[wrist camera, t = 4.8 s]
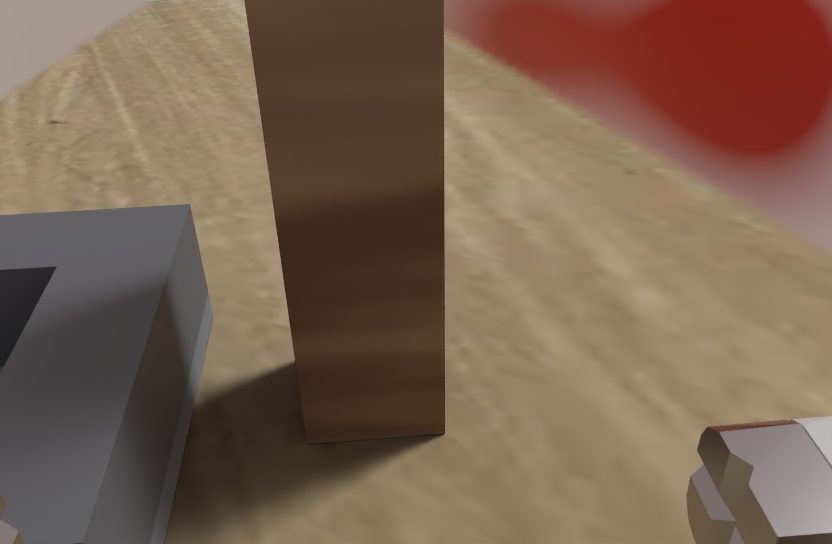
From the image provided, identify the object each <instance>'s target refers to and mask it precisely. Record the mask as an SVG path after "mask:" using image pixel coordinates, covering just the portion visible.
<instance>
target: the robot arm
mask: <svg viewBox="0 0 832 544" xmlns="http://www.w3.org/2000/svg"><path fill="white" fill-rule="evenodd" d="M697 451H698V453H699V455H700V457H701V459H702V461H703V463H704V465H702V466H701V467H700V468H699V469H698V470H697V471H696V472H695V473H693V474H692V475H691V476H690V481H689V486H688V491H687V509H688V519H689V523H690V527H691V530H692V534H693V537H694V539H695V542H696V544H832V416H827V417H815V418H804V419H792V420H790V421H788V420H777V421H766V422H755V423H743V424H732V425H721V426H709V427H707V428H706V429H705V431H704V432H703V433H702V434H701V437H700V441H699V444H698V448H697ZM5 506H6V503H5V501H4V499H3V497H2V495H1V493H0V518H1V516H2V513H3V511H4V508H5ZM0 544H24V542H23V540H22V538H21V535H20V533H19V531H18V530H17V529H15V528H14V527H12V526H10V525H9V524H7V523H5V522H4V521H2V520H0Z"/></svg>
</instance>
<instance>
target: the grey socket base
mask: <svg viewBox="0 0 832 544" xmlns="http://www.w3.org/2000/svg"><path fill="white" fill-rule="evenodd" d="M212 319H213V313H212V308H211V304H210V299H209V294H208V289H207V284H206V279H205V275H204V270H203V265H202V260H201V255H200V250H199V246H198V241H197V236H196V231H195V226H194V221H193V217H192V212H191V207H190V204H186V205H169V206H152V207H135V208H119V209H102V210H85V211H68V212H51V213H34V214H17V215H0V493H1V495H2V497H3V499H4V501H5V503H6V506H5V508H4V511H3V513H2V516H1V518H0V520H2V521H4V522H5V523H7V524H9V525H10V526H12V527H14V528H15V529H17V530H18V531H19V533H20V535H21V538H22V540H23V542H24V544H164V542H165V537H166V532H167V528H168V523H169V519H170V514H171V509H172V505H173V500H174V495H175V491H176V486H177V481H178V477H179V472H180V467H181V463H182V458H183V454H184V449H185V444H186V440H187V435H188V430H189V426H190V421H191V416H192V412H193V407H194V402H195V398H196V393H197V388H198V384H199V379H200V375H201V370H202V365H203V361H204V356H205V351H206V347H207V342H208V337H209V333H210V328H211V323H212Z"/></svg>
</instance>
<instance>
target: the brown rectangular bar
mask: <svg viewBox="0 0 832 544" xmlns="http://www.w3.org/2000/svg"><path fill="white" fill-rule="evenodd" d="M443 1H444V0H245V7H246V14H247V21H248V29H249V36H250V43H251V50H252V57H253V64H254V71H255V78H256V86H257V93H258V100H259V107H260V114H261V121H262V128H263V135H264V143H265V150H266V157H267V164H268V171H269V178H270V185H271V192H272V199H273V207H274V214H275V221H276V228H277V235H278V242H279V249H280V256H281V264H282V271H283V278H284V285H285V292H286V299H287V306H288V313H289V321H290V328H291V335H292V342H293V349H294V356H295V363H296V370H297V377H298V385H299V392H300V399H301V406H302V413H303V420H304V427H305V434H306V442H307V444H314V443H327V442H340V441H354V440H367V439H380V438H393V437H406V436H419V435H432V434H445V283H444V19H443V18H444V9H443V8H444V2H443Z"/></svg>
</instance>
